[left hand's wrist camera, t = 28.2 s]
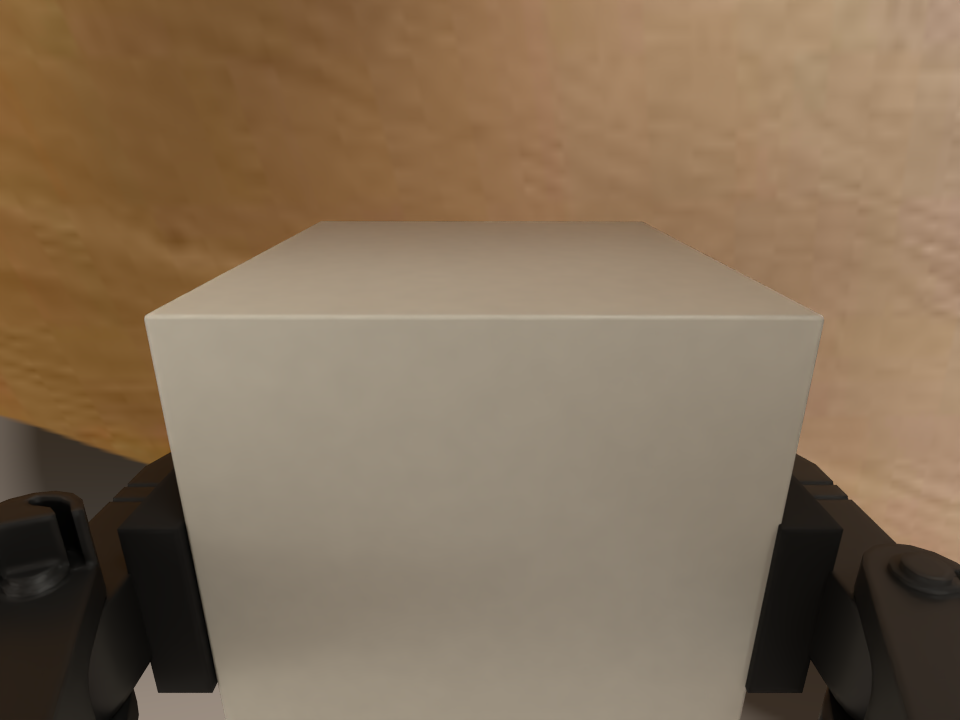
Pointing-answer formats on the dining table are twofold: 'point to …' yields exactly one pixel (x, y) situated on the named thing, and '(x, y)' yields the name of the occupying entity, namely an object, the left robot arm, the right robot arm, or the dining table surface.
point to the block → (482, 470)
